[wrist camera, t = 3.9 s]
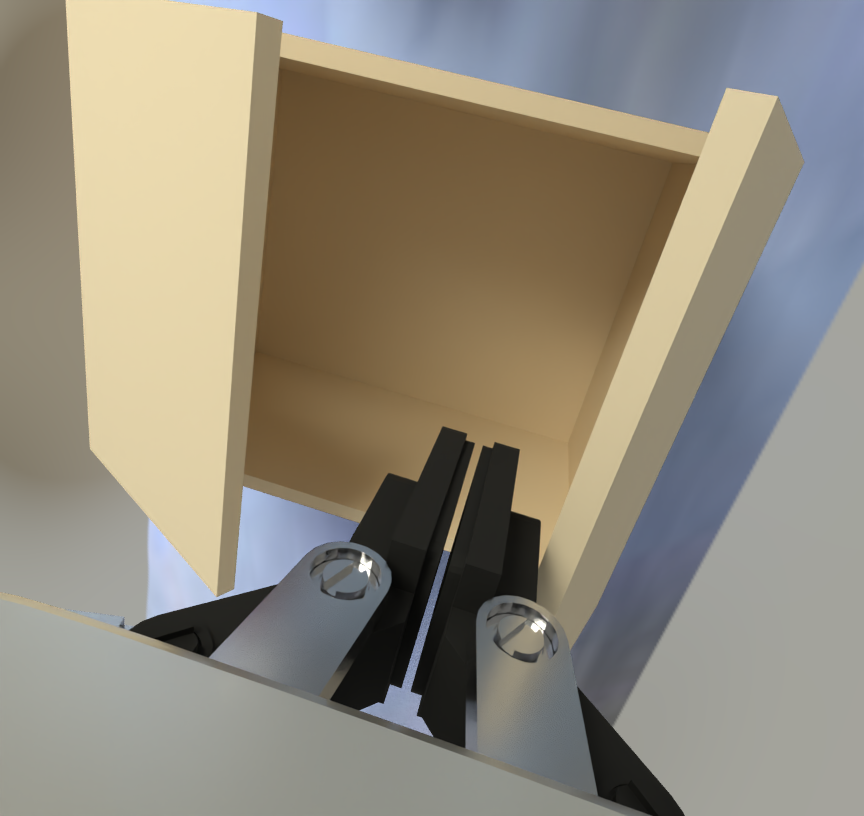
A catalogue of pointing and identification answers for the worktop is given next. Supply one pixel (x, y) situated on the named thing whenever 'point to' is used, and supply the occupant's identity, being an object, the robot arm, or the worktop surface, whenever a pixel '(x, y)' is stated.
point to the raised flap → (670, 345)
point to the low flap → (173, 252)
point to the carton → (445, 275)
